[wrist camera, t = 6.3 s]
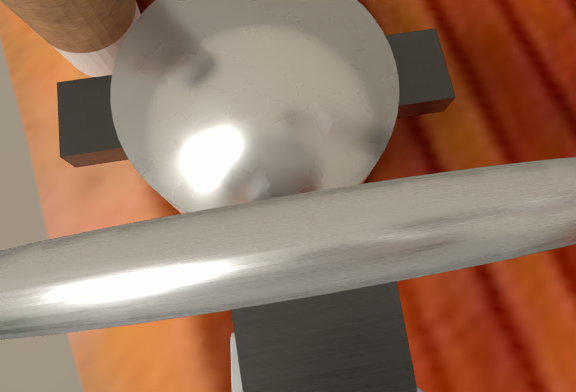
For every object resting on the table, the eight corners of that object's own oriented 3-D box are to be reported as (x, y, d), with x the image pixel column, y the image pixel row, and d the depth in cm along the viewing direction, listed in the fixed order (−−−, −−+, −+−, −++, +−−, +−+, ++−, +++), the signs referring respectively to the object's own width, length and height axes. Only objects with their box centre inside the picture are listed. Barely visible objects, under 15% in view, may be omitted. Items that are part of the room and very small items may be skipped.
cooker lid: (987, 74, 5) (1072, 307, 4) (438, 207, 20) (449, 261, 20) (-518, 313, 4) (-532, 616, 4) (115, 261, 19) (122, 317, 19)
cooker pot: (380, 40, 32) (417, -60, 23) (426, 224, 28) (489, 188, 20) (113, 78, 31) (46, -12, 22) (128, 273, 27) (56, 258, 19)
